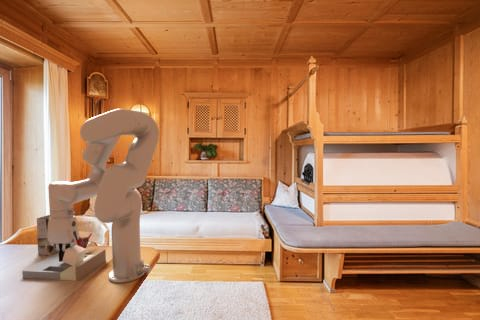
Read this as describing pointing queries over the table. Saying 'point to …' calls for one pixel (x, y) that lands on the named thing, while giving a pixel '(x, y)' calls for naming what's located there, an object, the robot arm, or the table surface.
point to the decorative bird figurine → (83, 241)
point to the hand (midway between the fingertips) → (64, 260)
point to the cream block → (74, 255)
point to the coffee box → (44, 237)
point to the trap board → (64, 268)
